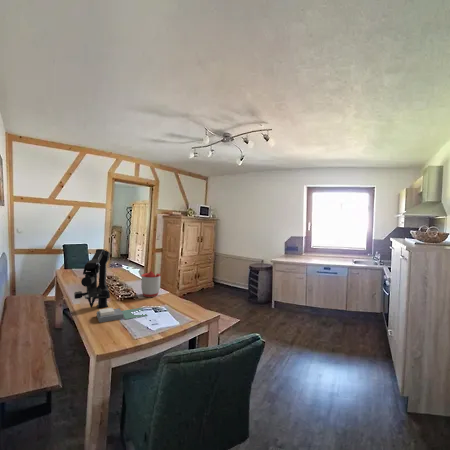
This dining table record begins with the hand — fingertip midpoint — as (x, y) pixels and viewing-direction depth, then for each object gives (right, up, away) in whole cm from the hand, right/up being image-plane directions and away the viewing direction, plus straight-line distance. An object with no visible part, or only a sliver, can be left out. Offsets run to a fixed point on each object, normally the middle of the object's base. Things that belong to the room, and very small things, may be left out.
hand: (91, 307), depth 171 cm
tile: (+7, -5, +5) cm, 10 cm away
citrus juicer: (+22, -7, +58) cm, 62 cm away
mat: (+22, -9, +14) cm, 27 cm away
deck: (+9, -8, +6) cm, 14 cm away
